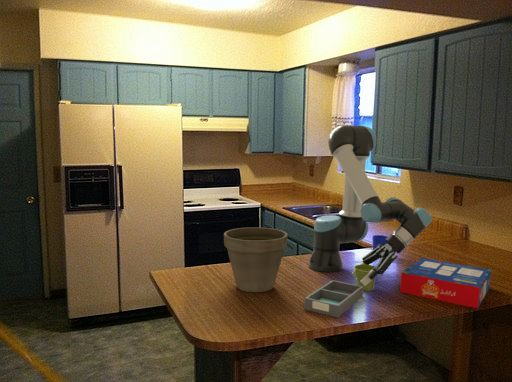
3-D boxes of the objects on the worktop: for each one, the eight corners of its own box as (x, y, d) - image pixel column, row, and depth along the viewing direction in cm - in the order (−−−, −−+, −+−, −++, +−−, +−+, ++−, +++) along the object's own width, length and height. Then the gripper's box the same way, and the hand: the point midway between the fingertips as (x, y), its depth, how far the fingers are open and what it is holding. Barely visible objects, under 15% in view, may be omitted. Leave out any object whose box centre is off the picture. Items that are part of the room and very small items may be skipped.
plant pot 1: (209, 286, 182) (210, 232, 180) (250, 273, 201) (251, 224, 198) (258, 302, 167) (260, 243, 164) (298, 286, 185) (300, 233, 183)
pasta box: (419, 275, 205) (400, 292, 182) (420, 257, 204) (401, 272, 181) (489, 288, 190) (478, 309, 167) (491, 269, 189) (479, 287, 166)
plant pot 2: (363, 294, 178) (365, 272, 177) (348, 286, 187) (349, 265, 185) (382, 291, 183) (383, 269, 181) (366, 283, 191) (367, 263, 190)
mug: (396, 259, 230) (398, 239, 228) (371, 257, 232) (372, 238, 231) (395, 255, 238) (396, 236, 236) (371, 253, 240) (372, 234, 239)
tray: (303, 309, 161) (303, 298, 161) (331, 290, 182) (332, 280, 182) (337, 317, 155) (338, 306, 154) (362, 296, 176) (363, 286, 175)
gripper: (417, 253, 174) (374, 295, 174) (392, 240, 195) (354, 277, 195) (405, 240, 172) (362, 282, 172) (381, 227, 194) (343, 265, 194)
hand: (358, 279), depth 184 cm, fingers closed on plant pot 2, 9 cm apart
